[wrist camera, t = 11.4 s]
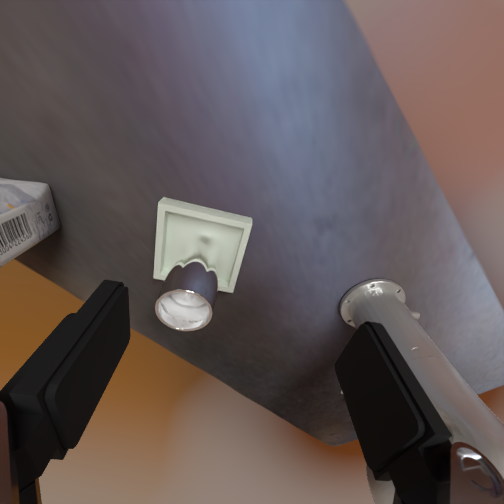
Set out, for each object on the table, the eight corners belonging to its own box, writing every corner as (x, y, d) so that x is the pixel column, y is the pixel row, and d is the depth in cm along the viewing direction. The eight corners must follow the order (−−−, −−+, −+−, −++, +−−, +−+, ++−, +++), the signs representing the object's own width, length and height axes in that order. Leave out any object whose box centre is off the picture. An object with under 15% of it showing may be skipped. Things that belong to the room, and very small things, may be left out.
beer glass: (177, 255, 41) (146, 322, 28) (190, 222, 38) (162, 280, 25) (215, 269, 43) (202, 338, 30) (230, 238, 40) (223, 301, 27)
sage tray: (252, 217, 39) (252, 224, 36) (233, 284, 46) (232, 293, 43) (163, 197, 37) (158, 202, 34) (158, 269, 43) (153, 278, 41)
